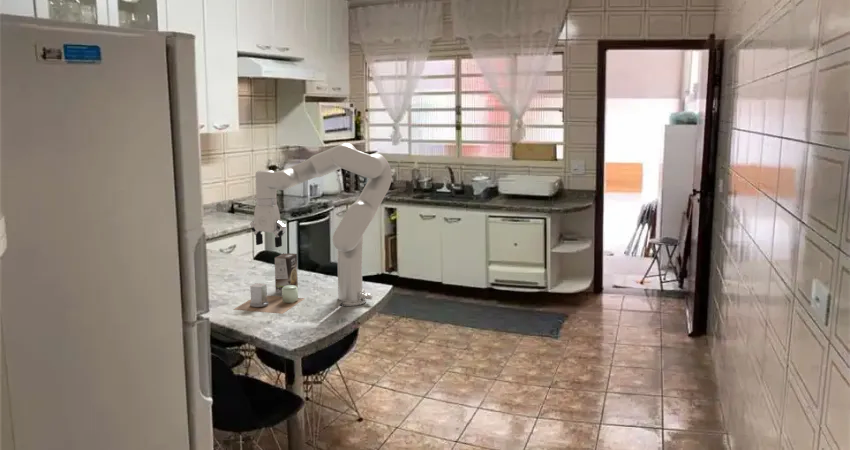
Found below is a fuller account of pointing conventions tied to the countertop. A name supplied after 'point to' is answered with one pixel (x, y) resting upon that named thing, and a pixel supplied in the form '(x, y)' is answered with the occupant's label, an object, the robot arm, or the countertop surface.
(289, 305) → the base board
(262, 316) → the countertop surface
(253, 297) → the grey piece
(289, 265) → the coffee box
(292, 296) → the cap
